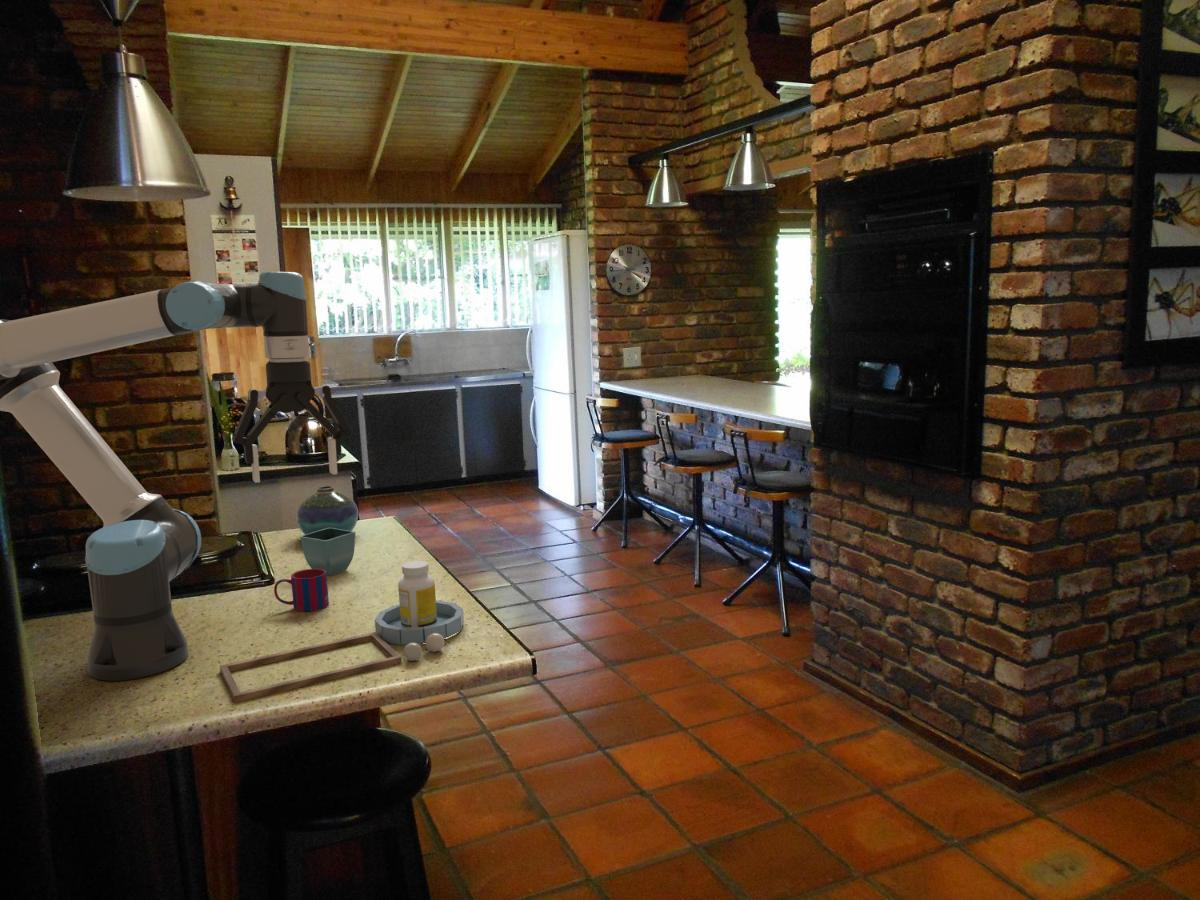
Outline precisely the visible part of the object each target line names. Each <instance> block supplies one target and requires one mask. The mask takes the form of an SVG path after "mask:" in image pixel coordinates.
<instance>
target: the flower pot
mask: <svg viewBox="0 0 1200 900" xmlns="http://www.w3.org/2000/svg"><path fill="white" fill-rule="evenodd" d="M299 539H300V540H299V541H300V543H301V548H302V552H303V556H304V559H305V561H306V563H307V565H308V567H310V569H323V570H325V571H326V573H327V576H329V577H330V576H334V575H337V574H339V573H342V572H344V571H347V569H348V568H349V567H350V565H351V563H352V561H353V558H354V554H355V543H356V531H355V530H352V531H348V530H342V529H336V528H326V529H322V530H319V531H316V532H313V533H309V534H306V535H305V534H303V535H300V536H299Z"/></svg>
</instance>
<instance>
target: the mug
mask: <svg viewBox="0 0 1200 900" xmlns="http://www.w3.org/2000/svg"><path fill="white" fill-rule="evenodd" d="M327 576H328V575H327V573H326V571H325V570H323V569H311V568H308V569H301V570H298V571H295V572H293V573H292V574H291V575H290V577H291V578H290V579H289V578H282V579H279V580H277V581H276V582H275V584H274V587H273V591H274V596H275V598H276V599H277V601H278V602H280V603H282V604H284V605H289V606H293V610H294V611H297V612H304V613H306V612H317V611H319V610H323V609H325V608H327V607H328V606H329V605H330V603H329V602H330V599H329V588H328V587H329V586H328V577H327ZM285 582H286V583H288V584H290V585H291V593H292V600H284V599H282V598H280V596H279V595H278V586H279V584H280V583H281V584H282V583H285Z"/></svg>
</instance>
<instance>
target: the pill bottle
mask: <svg viewBox="0 0 1200 900" xmlns="http://www.w3.org/2000/svg"><path fill="white" fill-rule="evenodd" d="M401 571H402V574H403V577H401V578H400V579H399V581H398V583H397V584H398V585H397V586H398V599H399V600H398V601H399V604H400V616H401V625H402V627H403V628H406V627H425V626H429V625H434V624H436V623H437V612H436V599H437V598H436V585H435V583H436V582H435V579H434V577H432V576H431V575H430V574H428V572H429V563H428V562H427V561H424V560H414V561H408V562H407V561H406V562H405V563H403V564H401Z"/></svg>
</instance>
